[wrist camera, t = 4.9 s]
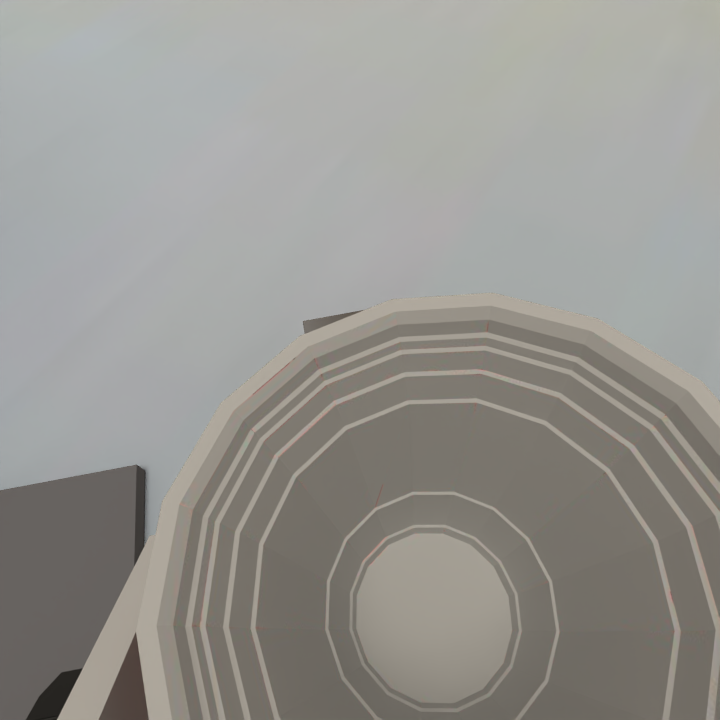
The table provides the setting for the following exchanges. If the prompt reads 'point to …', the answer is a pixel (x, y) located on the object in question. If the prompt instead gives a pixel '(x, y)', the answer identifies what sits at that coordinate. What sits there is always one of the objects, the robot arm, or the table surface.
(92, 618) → the rubber pad
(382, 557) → the plastic cup
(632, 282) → the table surface
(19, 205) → the table surface
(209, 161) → the table surface
